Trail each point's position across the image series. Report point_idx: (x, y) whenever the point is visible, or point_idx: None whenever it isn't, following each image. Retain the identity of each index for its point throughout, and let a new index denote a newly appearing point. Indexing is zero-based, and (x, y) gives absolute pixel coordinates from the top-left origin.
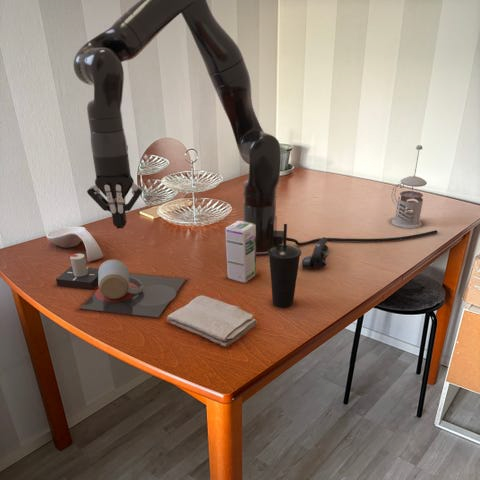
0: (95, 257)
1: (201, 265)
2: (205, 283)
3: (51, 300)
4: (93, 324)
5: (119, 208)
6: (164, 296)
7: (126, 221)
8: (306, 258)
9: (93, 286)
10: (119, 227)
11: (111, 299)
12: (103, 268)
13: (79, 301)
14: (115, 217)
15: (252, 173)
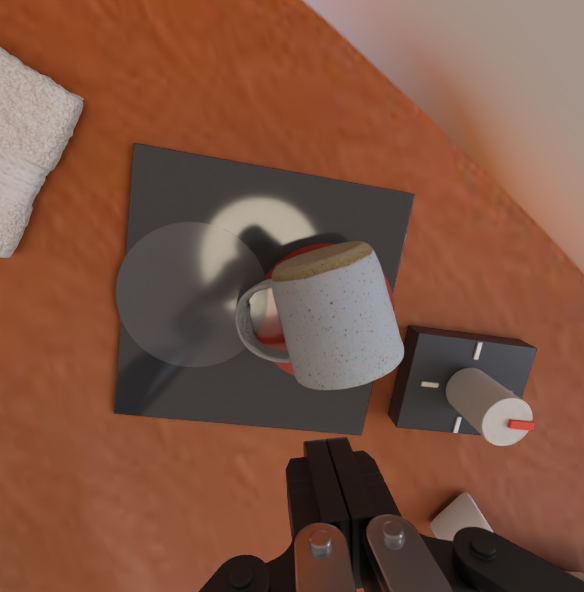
0: (450, 512)
1: (91, 515)
2: (38, 396)
3: (514, 247)
4: (343, 97)
5: (333, 565)
6: (153, 289)
7: (288, 507)
8: None
9: (408, 336)
10: (326, 444)
11: None
12: (380, 323)
13: (428, 246)
14: (363, 491)
15: None
